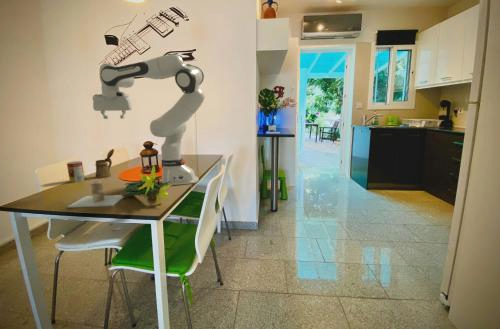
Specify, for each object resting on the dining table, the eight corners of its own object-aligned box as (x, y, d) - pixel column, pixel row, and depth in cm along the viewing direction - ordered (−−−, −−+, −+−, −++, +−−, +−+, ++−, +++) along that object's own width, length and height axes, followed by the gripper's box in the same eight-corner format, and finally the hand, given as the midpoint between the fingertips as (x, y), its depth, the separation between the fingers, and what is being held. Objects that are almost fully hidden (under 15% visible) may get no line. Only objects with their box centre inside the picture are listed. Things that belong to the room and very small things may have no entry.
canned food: (79, 178, 163) (76, 160, 160) (87, 179, 160) (84, 161, 158) (67, 181, 156) (63, 163, 153) (75, 182, 153) (72, 163, 150)
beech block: (103, 198, 122) (101, 180, 120) (104, 200, 118) (102, 182, 117) (93, 199, 120) (90, 182, 118) (93, 202, 116) (90, 184, 114)
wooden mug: (119, 174, 172) (116, 149, 168) (98, 178, 162) (95, 151, 158) (114, 173, 177) (110, 148, 174) (93, 176, 167) (89, 150, 163)
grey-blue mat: (126, 195, 127) (126, 194, 127) (113, 205, 113) (113, 204, 113) (85, 197, 125) (85, 196, 125) (68, 207, 112) (67, 206, 112)
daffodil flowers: (147, 191, 136) (187, 186, 114) (128, 211, 126) (168, 210, 105) (126, 168, 128) (164, 158, 107) (104, 188, 118) (141, 182, 97)
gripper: (89, 93, 137) (92, 119, 139) (126, 93, 138) (129, 118, 141) (95, 94, 143) (98, 118, 145) (131, 94, 144) (134, 118, 147)
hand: (114, 118), depth 143 cm, fingers open, 8 cm apart
